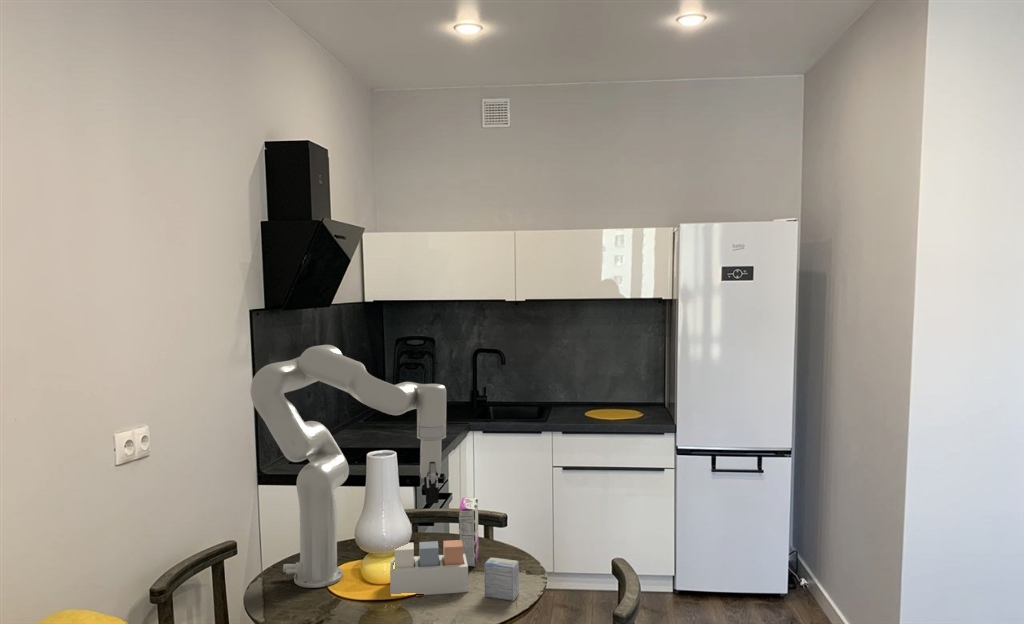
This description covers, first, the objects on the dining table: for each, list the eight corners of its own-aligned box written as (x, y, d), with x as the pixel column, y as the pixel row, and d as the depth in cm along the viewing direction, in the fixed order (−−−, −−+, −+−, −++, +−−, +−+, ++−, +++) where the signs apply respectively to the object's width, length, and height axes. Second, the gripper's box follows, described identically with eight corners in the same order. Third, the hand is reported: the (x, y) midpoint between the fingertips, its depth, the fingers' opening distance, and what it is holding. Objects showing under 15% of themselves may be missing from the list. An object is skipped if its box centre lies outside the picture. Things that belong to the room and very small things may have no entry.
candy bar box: (462, 552, 196) (462, 497, 196) (478, 552, 196) (478, 497, 196) (458, 567, 185) (458, 508, 185) (476, 567, 185) (476, 508, 185)
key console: (390, 597, 166) (390, 571, 166) (391, 582, 175) (390, 557, 175) (468, 591, 169) (468, 566, 169) (465, 577, 178) (464, 553, 178)
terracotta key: (444, 571, 170) (444, 547, 170) (443, 564, 175) (443, 540, 175) (463, 570, 171) (463, 546, 171) (461, 563, 176) (461, 539, 176)
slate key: (419, 572, 169) (419, 548, 169) (419, 565, 174) (419, 542, 174) (438, 571, 170) (438, 547, 170) (437, 564, 175) (437, 541, 175)
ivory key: (394, 574, 168) (394, 550, 168) (395, 567, 173) (395, 543, 173) (413, 573, 169) (413, 549, 169) (413, 566, 174) (413, 542, 174)
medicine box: (519, 594, 168) (519, 560, 168) (513, 601, 164) (513, 567, 164) (490, 590, 170) (490, 556, 170) (483, 597, 166) (483, 562, 166)
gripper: (416, 426, 180) (415, 488, 180) (418, 439, 163) (417, 508, 163) (443, 425, 181) (443, 487, 182) (448, 438, 164) (448, 506, 165)
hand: (431, 497), depth 172 cm, fingers open, 9 cm apart
